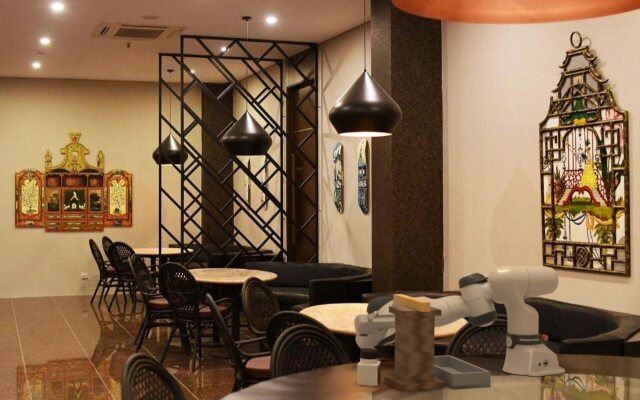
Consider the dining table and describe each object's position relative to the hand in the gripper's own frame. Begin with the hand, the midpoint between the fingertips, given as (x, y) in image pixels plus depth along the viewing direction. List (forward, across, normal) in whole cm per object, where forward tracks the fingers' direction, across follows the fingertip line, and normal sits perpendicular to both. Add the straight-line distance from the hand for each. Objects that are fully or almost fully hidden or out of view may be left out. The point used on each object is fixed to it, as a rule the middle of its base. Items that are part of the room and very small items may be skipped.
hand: (388, 312), depth 295 cm
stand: (+9, 0, -30) cm, 31 cm away
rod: (+19, 0, -6) cm, 20 cm away
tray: (+4, -17, -27) cm, 32 cm away
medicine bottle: (+3, +14, -27) cm, 30 cm away
